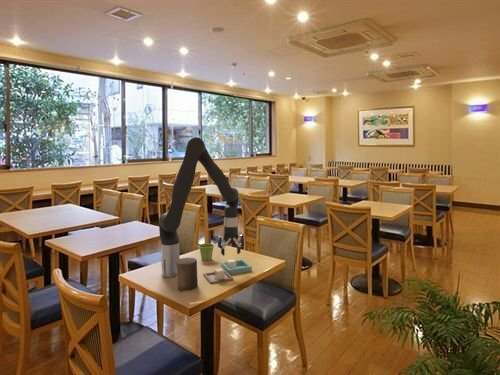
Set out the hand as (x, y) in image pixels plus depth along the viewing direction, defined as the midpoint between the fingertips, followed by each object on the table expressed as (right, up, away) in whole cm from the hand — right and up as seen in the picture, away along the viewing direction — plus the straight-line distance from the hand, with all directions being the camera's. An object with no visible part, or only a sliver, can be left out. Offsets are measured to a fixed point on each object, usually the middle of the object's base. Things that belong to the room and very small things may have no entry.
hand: (230, 254), depth 191 cm
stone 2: (0, -9, +2) cm, 9 cm away
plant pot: (-16, -7, +21) cm, 27 cm away
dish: (+3, -9, +3) cm, 10 cm away
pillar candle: (-20, -13, -20) cm, 31 cm away
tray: (-6, -11, -9) cm, 15 cm away
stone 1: (-5, -10, -12) cm, 17 cm away
